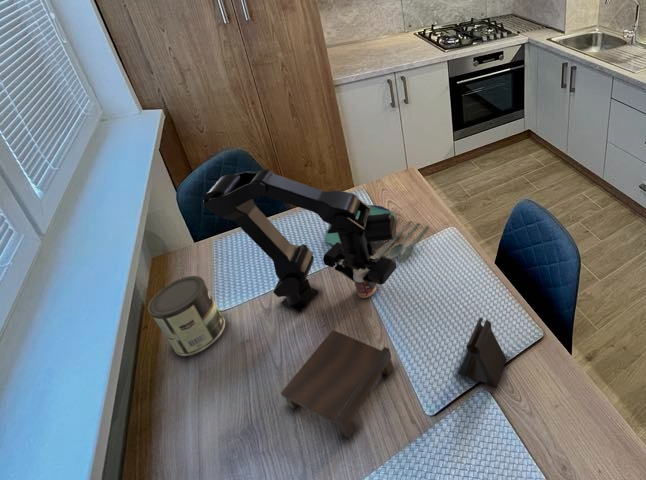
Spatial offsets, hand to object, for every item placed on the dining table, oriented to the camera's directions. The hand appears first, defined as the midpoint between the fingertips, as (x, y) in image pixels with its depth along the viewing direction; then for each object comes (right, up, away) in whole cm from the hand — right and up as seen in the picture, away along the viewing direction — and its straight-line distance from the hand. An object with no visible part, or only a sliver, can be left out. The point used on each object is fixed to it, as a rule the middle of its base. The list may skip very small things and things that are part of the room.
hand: (365, 285), depth 105 cm
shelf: (+3, -12, -20) cm, 24 cm away
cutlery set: (-4, +6, +19) cm, 20 cm away
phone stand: (+32, -10, -18) cm, 38 cm away
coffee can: (-37, -8, -9) cm, 38 cm away
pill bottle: (0, -2, +1) cm, 2 cm away
